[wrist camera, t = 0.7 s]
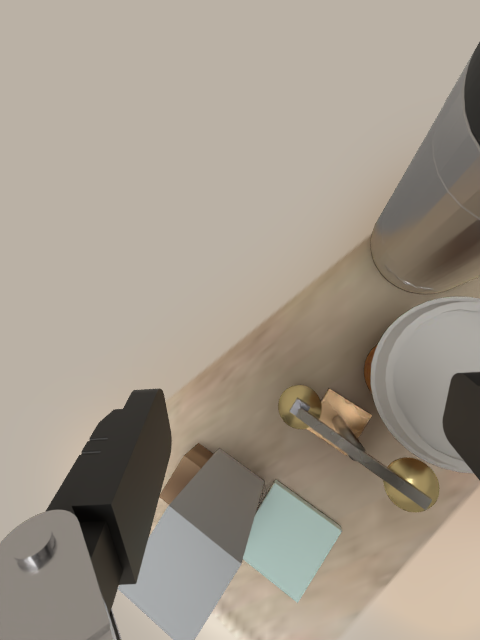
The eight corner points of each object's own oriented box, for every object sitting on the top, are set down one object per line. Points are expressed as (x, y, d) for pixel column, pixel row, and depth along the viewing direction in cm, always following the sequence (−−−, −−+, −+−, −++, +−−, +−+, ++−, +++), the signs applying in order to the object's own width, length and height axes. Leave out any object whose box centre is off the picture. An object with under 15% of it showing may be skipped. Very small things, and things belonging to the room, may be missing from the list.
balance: (296, 368, 30) (295, 374, 18) (404, 435, 28) (479, 490, 16) (274, 404, 30) (258, 434, 18) (380, 475, 28) (437, 558, 16)
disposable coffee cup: (487, 365, 27) (630, 372, 15) (414, 453, 27) (500, 525, 16) (389, 297, 29) (451, 256, 17) (322, 379, 29) (338, 394, 18)
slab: (275, 479, 29) (274, 482, 28) (340, 526, 28) (341, 531, 27) (234, 545, 29) (233, 551, 28) (297, 596, 28) (297, 603, 27)
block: (198, 442, 31) (184, 455, 27) (233, 468, 30) (223, 485, 26) (176, 478, 31) (158, 496, 27) (210, 505, 30) (197, 527, 26)
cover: (219, 448, 30) (168, 505, 19) (264, 480, 29) (241, 563, 18) (187, 499, 30) (117, 588, 19) (232, 533, 29) (187, 652, 18)
